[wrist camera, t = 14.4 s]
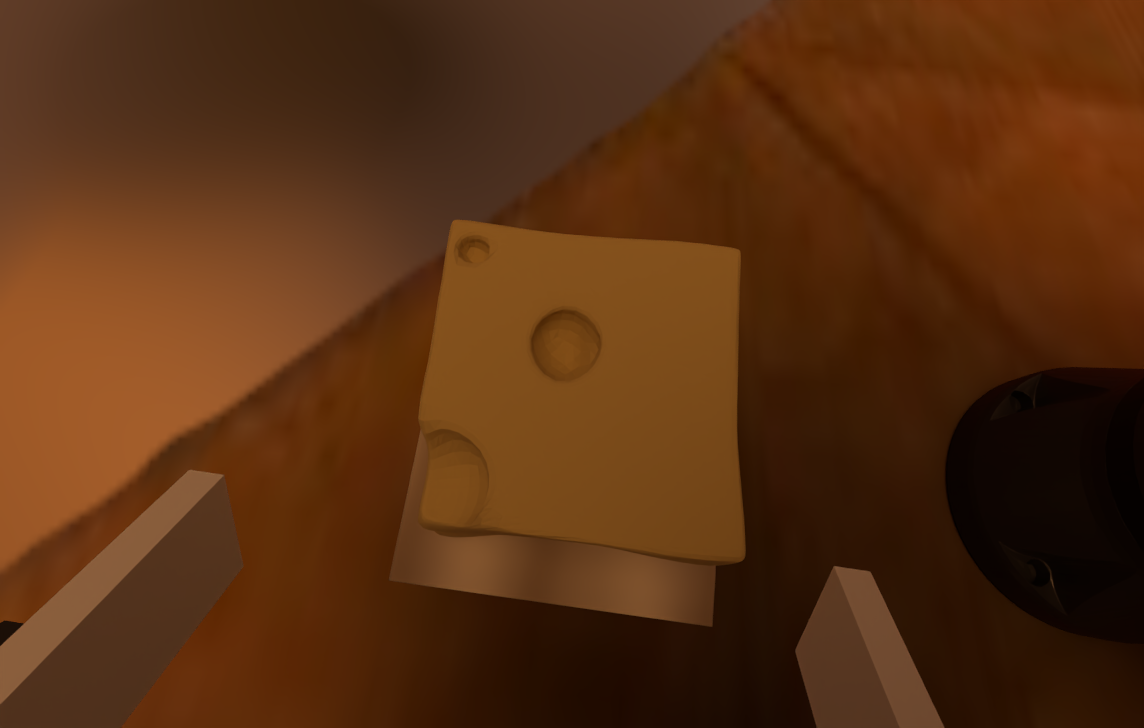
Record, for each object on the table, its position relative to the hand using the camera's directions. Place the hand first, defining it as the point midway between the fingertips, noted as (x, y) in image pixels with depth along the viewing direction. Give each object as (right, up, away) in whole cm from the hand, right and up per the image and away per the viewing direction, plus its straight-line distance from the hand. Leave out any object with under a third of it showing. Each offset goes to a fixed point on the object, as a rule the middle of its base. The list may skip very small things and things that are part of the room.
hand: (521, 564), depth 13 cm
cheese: (+1, +1, +14) cm, 15 cm away
